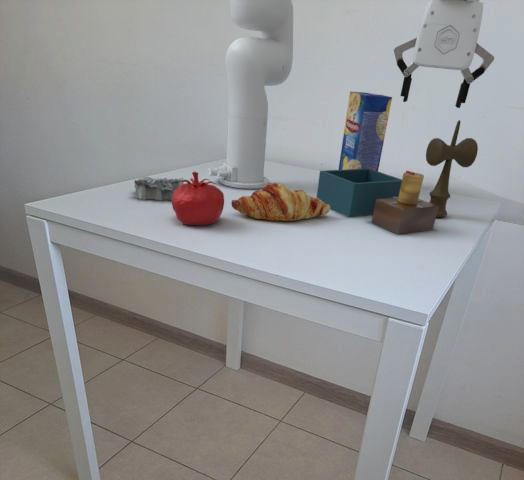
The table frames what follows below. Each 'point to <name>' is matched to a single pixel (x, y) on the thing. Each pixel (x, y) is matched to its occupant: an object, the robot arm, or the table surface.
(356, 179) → the teal open box
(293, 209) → the croissant
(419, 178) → the tap knob
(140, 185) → the grey flat jagged block
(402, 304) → the table surface
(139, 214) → the table surface
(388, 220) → the block
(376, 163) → the beverage box
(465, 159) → the kendama
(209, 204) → the red tomato
